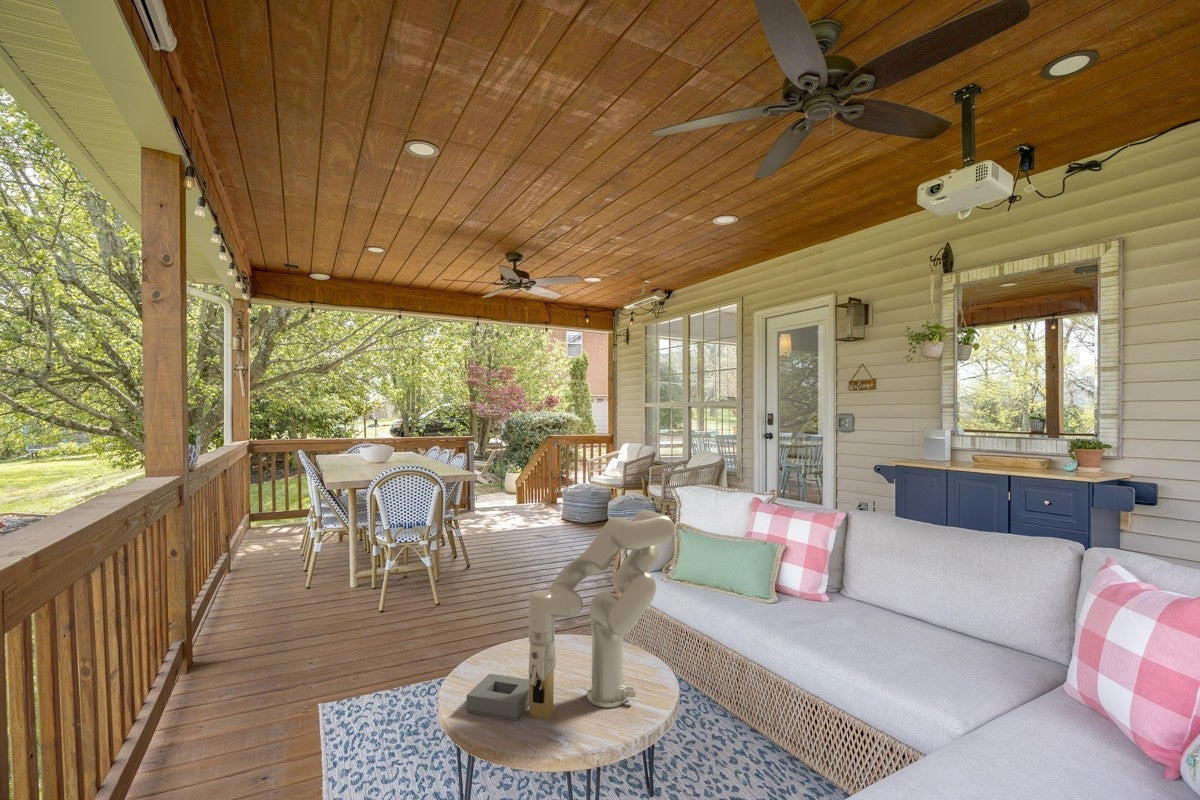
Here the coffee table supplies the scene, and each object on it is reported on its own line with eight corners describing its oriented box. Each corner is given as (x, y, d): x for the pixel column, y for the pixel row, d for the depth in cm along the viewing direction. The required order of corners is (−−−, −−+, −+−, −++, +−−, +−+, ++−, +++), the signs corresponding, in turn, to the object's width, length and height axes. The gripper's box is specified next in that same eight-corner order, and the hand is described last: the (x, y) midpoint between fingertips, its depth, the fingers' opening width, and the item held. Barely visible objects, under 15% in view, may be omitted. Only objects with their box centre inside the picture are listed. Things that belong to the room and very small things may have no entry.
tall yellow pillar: (553, 711, 161) (553, 669, 162) (548, 718, 157) (548, 675, 158) (534, 708, 163) (534, 666, 163) (528, 714, 159) (529, 672, 159)
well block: (536, 697, 169) (536, 680, 169) (516, 721, 156) (516, 703, 156) (489, 689, 174) (489, 673, 174) (466, 712, 160) (466, 694, 160)
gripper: (542, 647, 152) (542, 715, 151) (563, 626, 168) (563, 686, 167) (517, 644, 154) (517, 711, 153) (540, 623, 170) (540, 683, 169)
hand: (541, 697), depth 160 cm, fingers closed on tall yellow pillar, 4 cm apart
